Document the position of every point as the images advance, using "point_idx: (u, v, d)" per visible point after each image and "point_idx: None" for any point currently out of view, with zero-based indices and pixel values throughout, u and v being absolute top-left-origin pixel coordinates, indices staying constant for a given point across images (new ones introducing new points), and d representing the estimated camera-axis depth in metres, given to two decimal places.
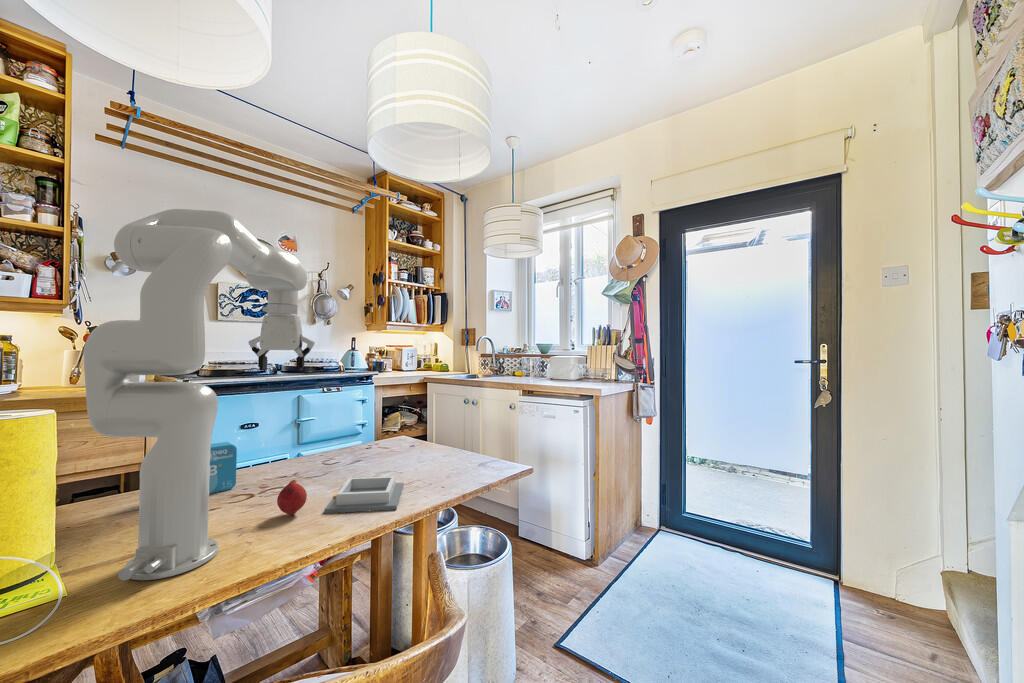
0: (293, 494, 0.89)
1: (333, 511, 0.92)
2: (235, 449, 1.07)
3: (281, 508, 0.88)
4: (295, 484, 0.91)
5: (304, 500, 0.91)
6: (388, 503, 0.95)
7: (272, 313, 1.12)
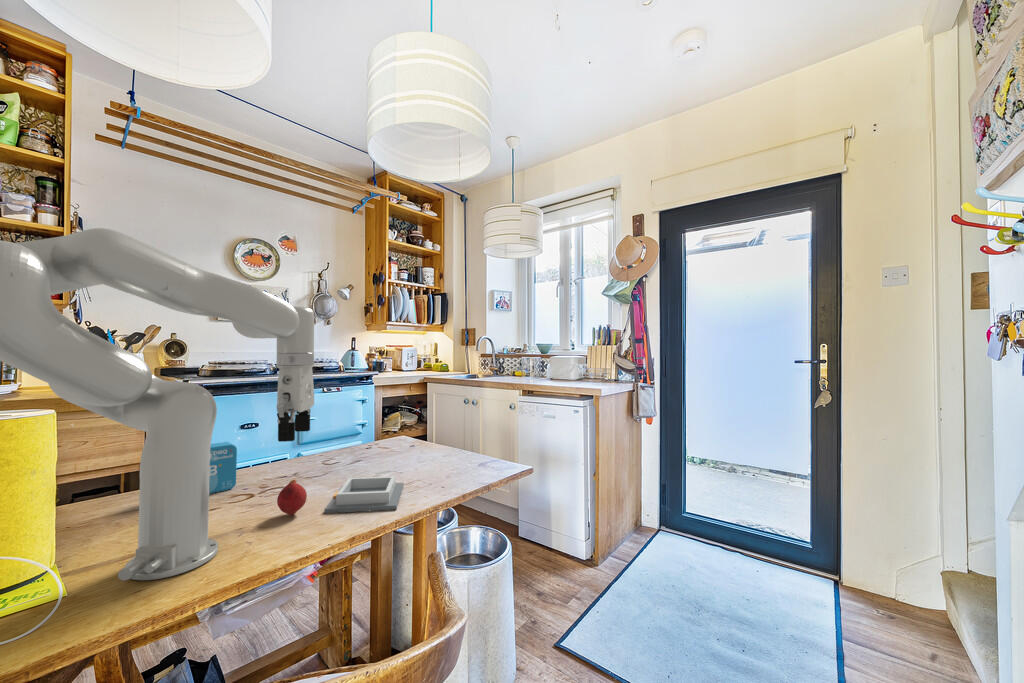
0: (293, 494, 0.89)
1: (333, 511, 0.92)
2: (235, 449, 1.07)
3: (281, 508, 0.88)
4: (295, 484, 0.91)
5: (304, 500, 0.91)
6: (388, 503, 0.95)
7: (309, 365, 0.91)
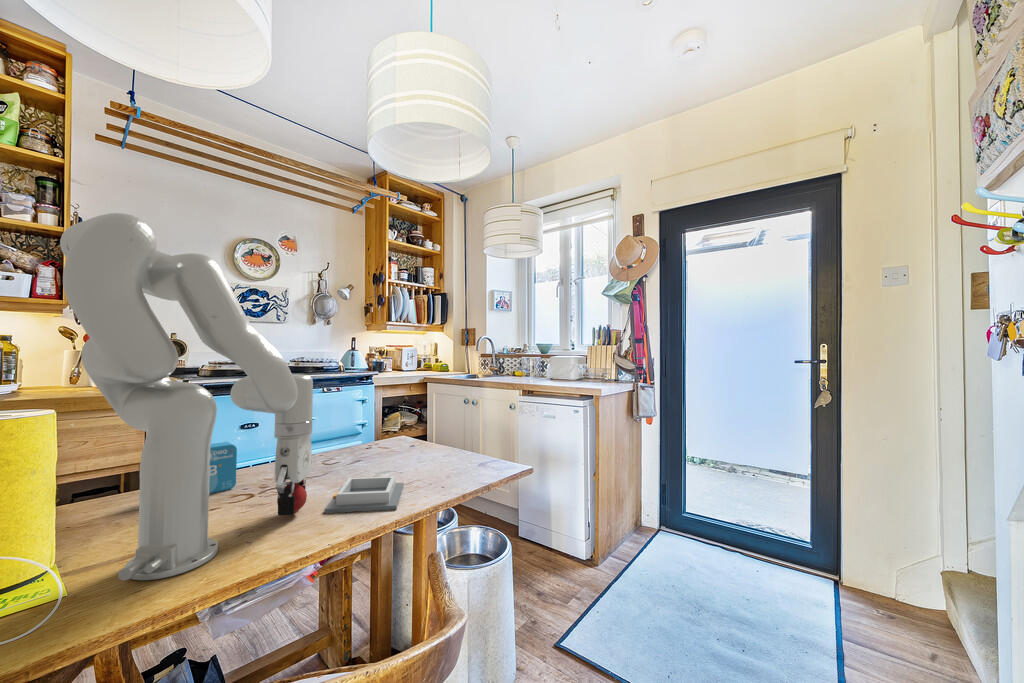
0: (293, 494, 0.89)
1: (333, 511, 0.92)
2: (235, 449, 1.07)
3: None
4: (295, 484, 0.91)
5: (304, 500, 0.91)
6: (388, 503, 0.95)
7: (307, 434, 0.90)
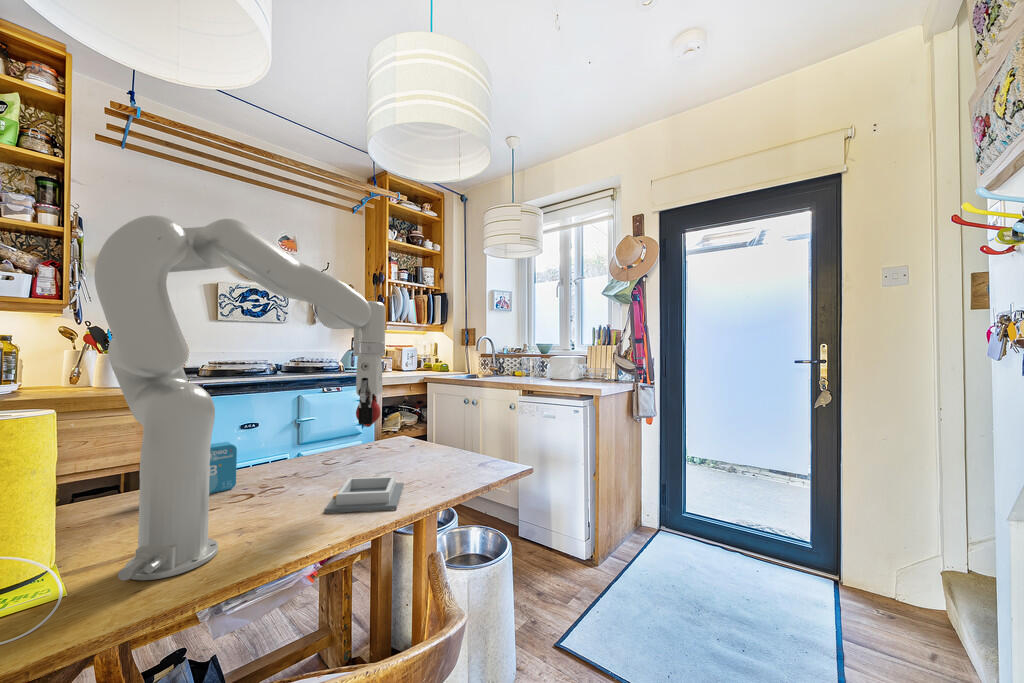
0: None
1: (333, 511, 0.92)
2: (235, 449, 1.07)
3: None
4: None
5: (379, 413, 1.01)
6: (388, 503, 0.95)
7: (382, 354, 1.01)
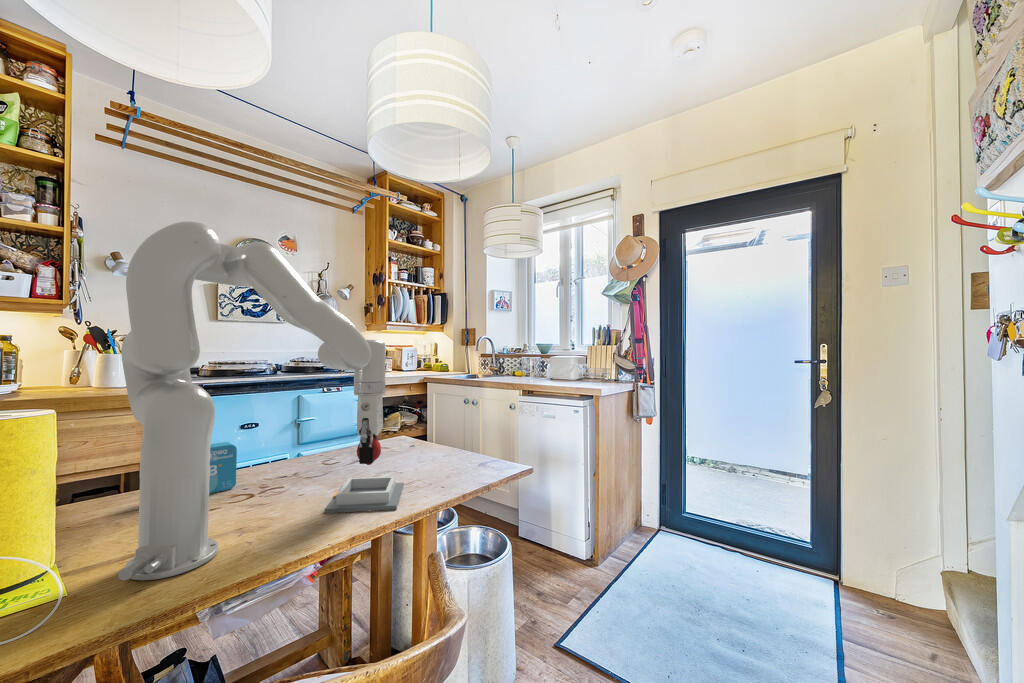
0: None
1: (333, 511, 0.92)
2: (235, 449, 1.07)
3: None
4: None
5: (380, 451, 1.01)
6: (388, 503, 0.95)
7: (383, 392, 1.01)
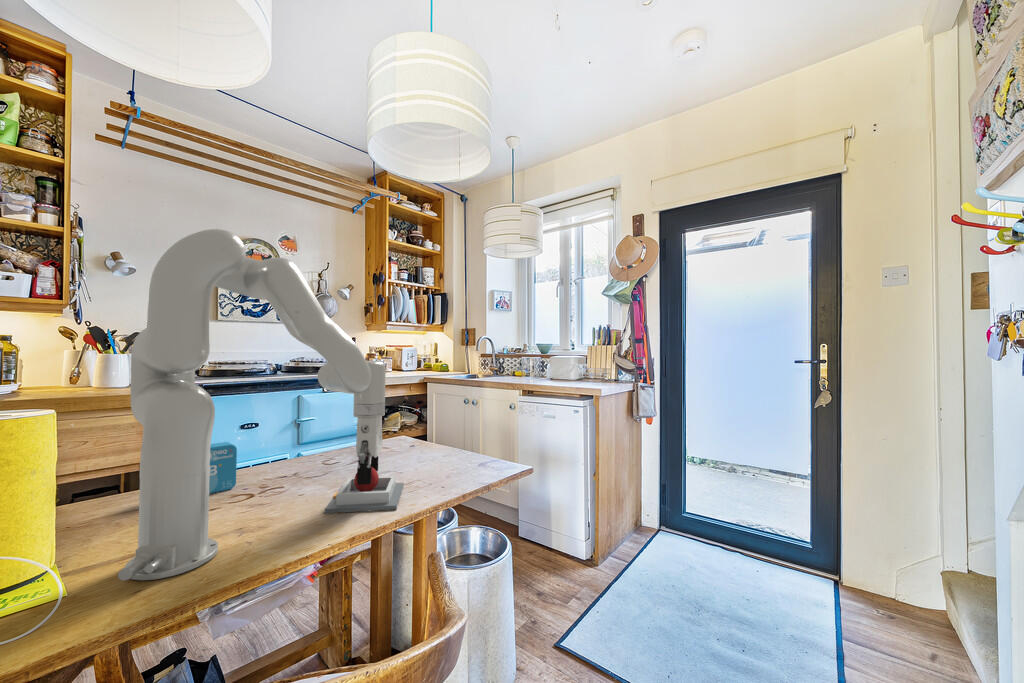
0: None
1: (333, 511, 0.92)
2: (235, 449, 1.07)
3: (359, 488, 0.99)
4: None
5: (377, 480, 1.01)
6: (388, 503, 0.95)
7: (382, 414, 1.00)
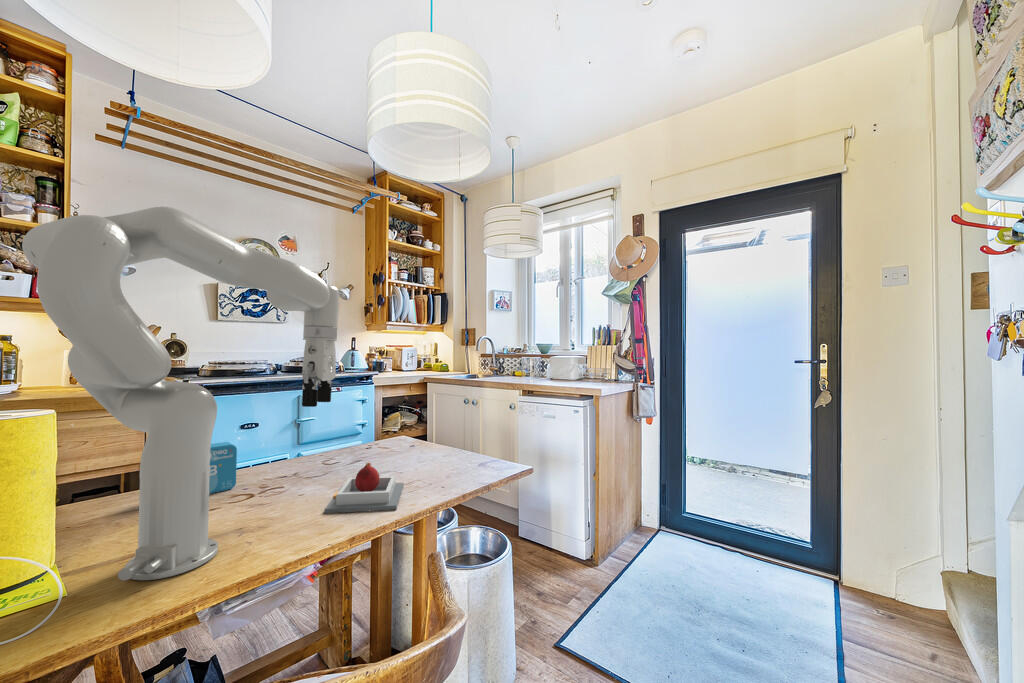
0: (369, 476, 0.99)
1: (333, 511, 0.92)
2: (235, 449, 1.07)
3: (359, 488, 0.99)
4: (370, 467, 1.01)
5: (378, 481, 1.01)
6: (388, 503, 0.95)
7: (333, 338, 0.98)
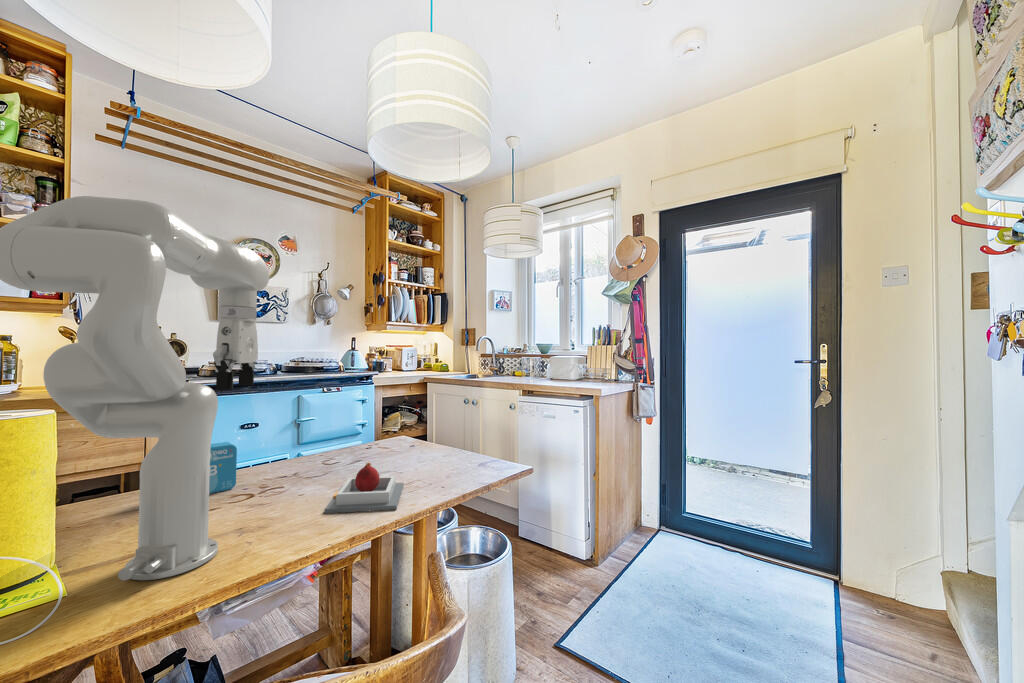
0: (369, 476, 0.99)
1: (333, 511, 0.92)
2: (235, 449, 1.07)
3: (359, 488, 0.99)
4: (370, 467, 1.01)
5: (378, 481, 1.01)
6: (388, 503, 0.95)
7: (250, 319, 0.94)
